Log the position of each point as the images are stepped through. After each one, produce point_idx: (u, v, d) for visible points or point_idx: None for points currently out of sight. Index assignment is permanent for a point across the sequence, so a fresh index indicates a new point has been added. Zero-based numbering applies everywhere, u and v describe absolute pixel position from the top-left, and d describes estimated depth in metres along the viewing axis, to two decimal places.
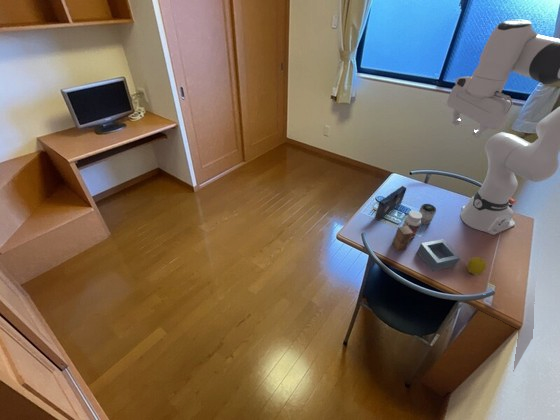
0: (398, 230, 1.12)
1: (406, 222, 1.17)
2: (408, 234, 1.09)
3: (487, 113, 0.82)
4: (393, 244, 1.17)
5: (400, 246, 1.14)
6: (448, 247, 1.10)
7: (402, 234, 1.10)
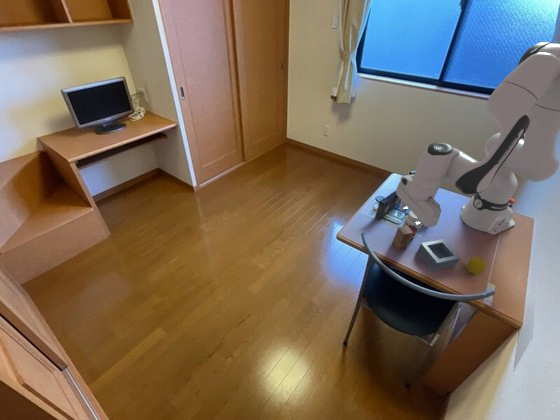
0: (398, 230, 1.12)
1: (406, 222, 1.17)
2: (408, 234, 1.09)
3: (423, 213, 0.96)
4: (393, 244, 1.17)
5: (400, 246, 1.14)
6: (448, 247, 1.10)
7: (402, 234, 1.10)
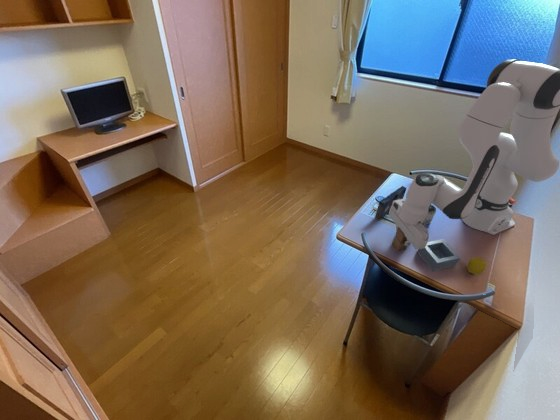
0: (398, 230, 1.12)
1: None
2: None
3: (413, 236, 1.04)
4: (393, 244, 1.17)
5: (400, 246, 1.14)
6: (448, 247, 1.10)
7: (402, 234, 1.10)
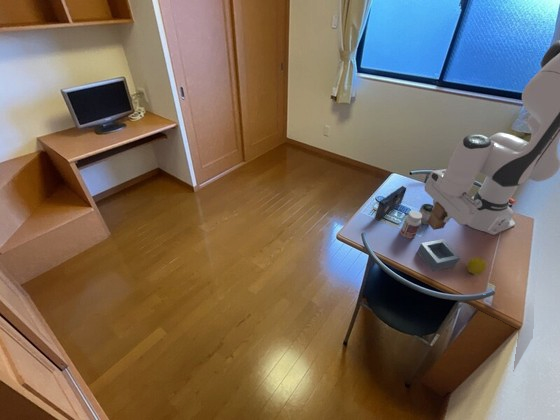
0: (436, 205, 0.99)
1: (406, 222, 1.17)
2: None
3: (456, 210, 0.91)
4: (429, 222, 1.04)
5: (437, 224, 1.01)
6: (448, 247, 1.10)
7: (441, 209, 0.97)
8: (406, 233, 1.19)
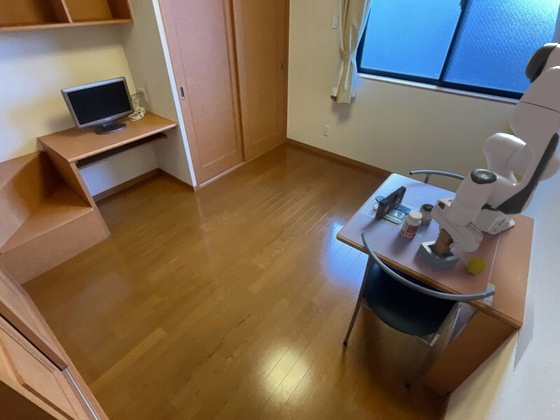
0: (442, 231, 1.03)
1: (406, 222, 1.17)
2: None
3: (463, 238, 0.95)
4: (435, 246, 1.08)
5: (443, 249, 1.05)
6: None
7: (448, 236, 1.01)
8: (406, 233, 1.19)
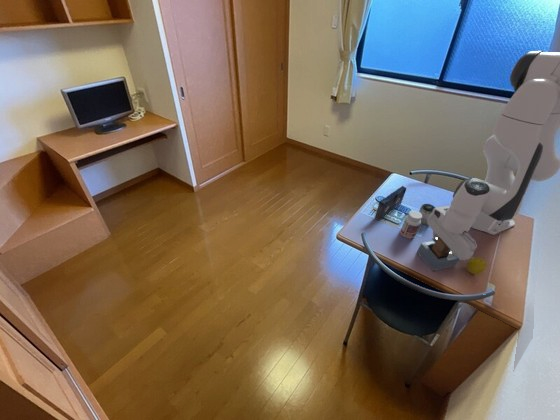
0: (438, 240, 1.07)
1: (406, 222, 1.17)
2: None
3: (457, 246, 0.98)
4: None
5: (439, 257, 1.08)
6: None
7: (443, 244, 1.04)
8: (406, 233, 1.19)
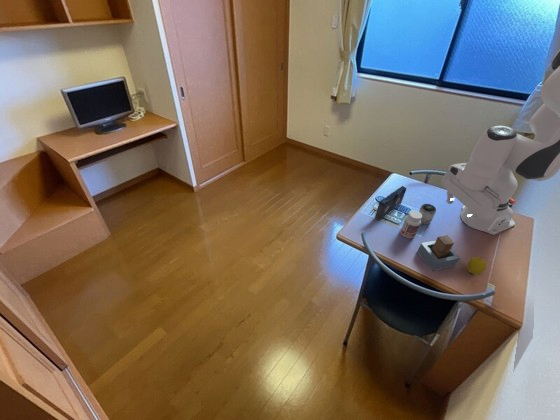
0: (438, 240, 1.07)
1: (406, 222, 1.17)
2: (449, 244, 1.04)
3: (478, 205, 0.88)
4: None
5: (439, 257, 1.08)
6: None
7: (443, 244, 1.04)
8: (406, 233, 1.19)
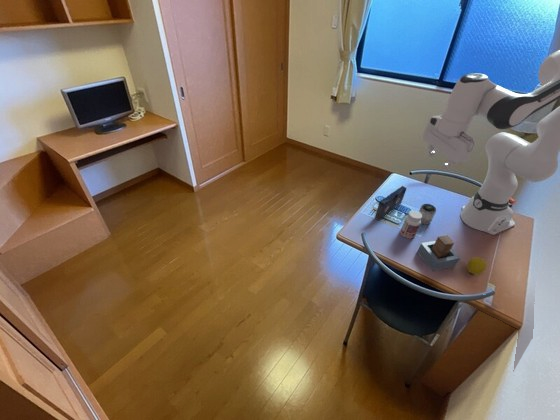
0: (438, 240, 1.07)
1: (406, 222, 1.17)
2: (449, 244, 1.04)
3: (454, 150, 0.94)
4: None
5: (439, 257, 1.08)
6: None
7: (443, 244, 1.04)
8: (406, 233, 1.19)
